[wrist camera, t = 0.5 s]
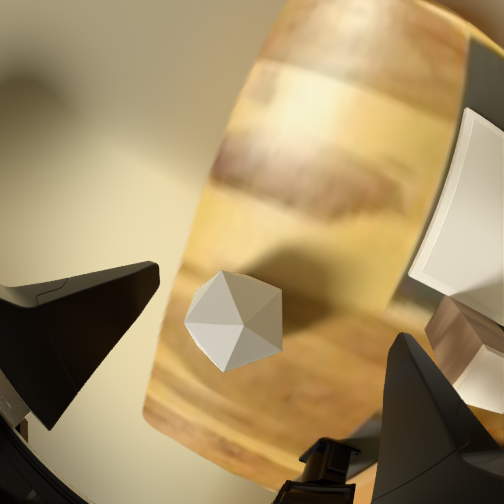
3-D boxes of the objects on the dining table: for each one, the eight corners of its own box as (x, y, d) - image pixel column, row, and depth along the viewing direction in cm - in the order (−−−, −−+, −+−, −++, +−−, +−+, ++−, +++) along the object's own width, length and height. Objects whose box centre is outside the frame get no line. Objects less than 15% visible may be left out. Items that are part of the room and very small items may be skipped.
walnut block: (470, 350, 19) (502, 414, 10) (424, 329, 21) (450, 398, 12) (491, 317, 18) (535, 373, 9) (445, 292, 20) (487, 350, 10)
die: (199, 282, 29) (172, 366, 23) (213, 232, 22) (174, 342, 16) (271, 305, 30) (255, 390, 24) (305, 264, 23) (293, 375, 17)
